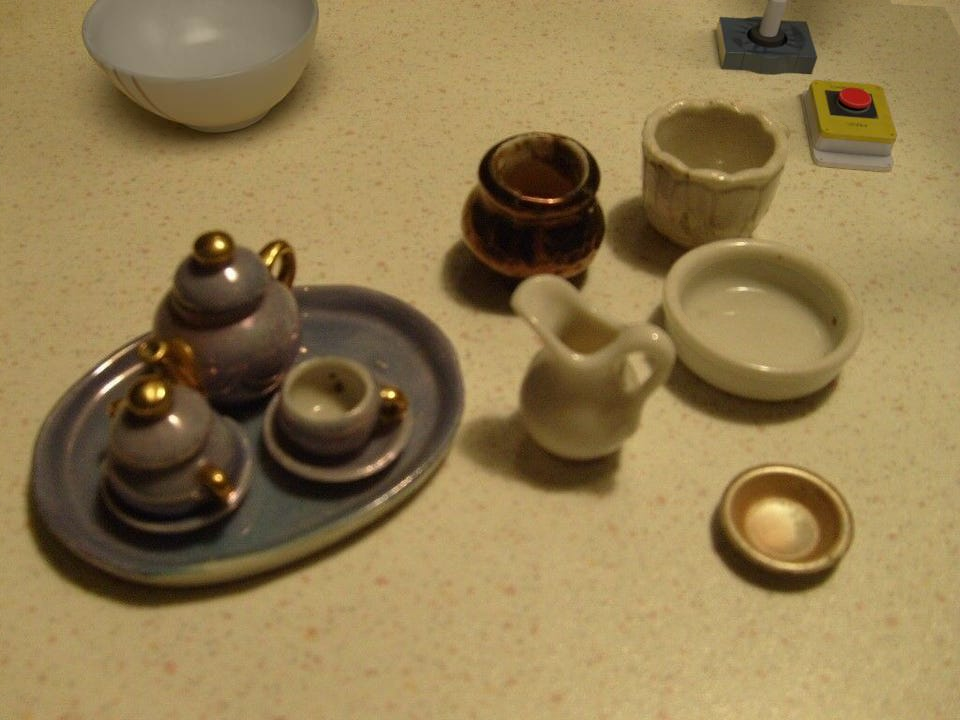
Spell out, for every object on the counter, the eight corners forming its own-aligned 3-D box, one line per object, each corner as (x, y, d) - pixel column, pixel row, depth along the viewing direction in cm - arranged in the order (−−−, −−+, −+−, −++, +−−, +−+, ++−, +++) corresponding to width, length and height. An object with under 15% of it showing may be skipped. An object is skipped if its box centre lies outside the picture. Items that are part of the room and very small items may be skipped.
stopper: (784, 54, 118) (802, -2, 111) (763, 65, 116) (780, 9, 110) (759, 40, 120) (776, -15, 113) (739, 51, 118) (754, -5, 112)
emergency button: (885, 69, 108) (908, 142, 98) (872, 99, 111) (893, 172, 102) (810, 63, 108) (825, 135, 99) (799, 93, 112) (813, 165, 102)
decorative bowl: (89, 171, 100) (51, 80, 90) (141, 46, 117) (113, -43, 107) (320, 170, 100) (306, 79, 91) (338, 46, 117) (327, -42, 108)
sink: (800, 35, 121) (806, 18, 119) (812, 76, 114) (818, 59, 112) (714, 30, 121) (718, 14, 119) (721, 71, 115) (726, 54, 113)
